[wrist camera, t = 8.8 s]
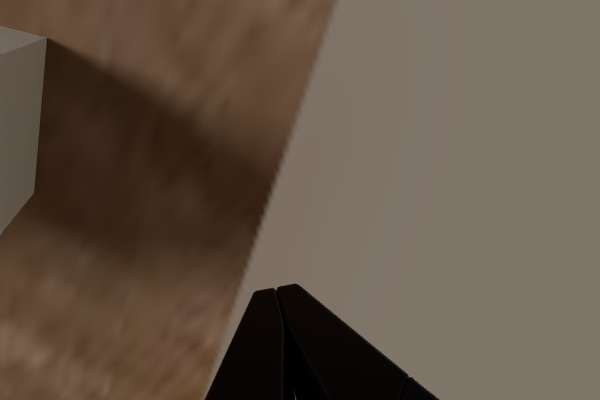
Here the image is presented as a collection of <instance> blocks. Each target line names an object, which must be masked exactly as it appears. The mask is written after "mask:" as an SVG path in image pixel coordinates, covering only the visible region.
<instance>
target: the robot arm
mask: <svg viewBox="0 0 600 400" xmlns="http://www.w3.org/2000/svg"><path fill="white" fill-rule="evenodd" d="M294 393H295V394H294ZM295 397H296V400H439V399H438V398H436V397H435V396H434V395H433V394H431V393H430V392H429V391H428V390H426V389H425V388H424V387H423V386H421V385H420V384H419V383H418V382H417V381H415V380H414V379H413V378H411V377H409V376H408V374H407V373H405V372H404V371H403V370H402V369H400V368H399V367H398V366H397V365H396V364H395V363H393V362H392V361H391V360H390V359H388V358H387V357H386V356H385V355H384V354H382V353H381V352H380V351H379V350H377V349H376V348H375V347H374V346H372V345H371V344H370V343H369V342H368V341H366V340H365V339H364V338H363V337H362V336H360V335H359V334H358V333H357V332H355V331H354V330H353V329H352V328H351V327H349V326H348V325H347V324H346V323H345V322H343V321H342V320H341V319H340V318H338V317H337V316H336V315H335V314H333V313H332V312H331V311H330V310H329V309H328V308H326V307H325V306H324V305H323V304H321V303H320V302H319V301H318V300H316V299H315V298H314V297H313V296H312V295H310V294H309V293H308V292H307V291H306V290H304V289H303V288H302V287H301V286H299V285H298V284H291V285H286V286H280V287H278V288H277V290H275V289H274V288H270V289H264V290H259V291H256V292H254V293H253V295H252V297H251V300H250V302H249V304H248V306H247V308H246V311H245V313H244V315H243V317H242V319H241V321H240V324H239V326H238V328H237V330H236V332H235V335H234V337H233V339H232V341H231V343H230V345H229V348H228V350H227V352H226V354H225V357H224V358H223V361H222V363H221V365H220V367H219V369H218V372H217V374H216V376H215V378H214V380H213V382H212V385H211V387H210V389H209V391H208V393H207V396H206V398H205V400H295Z"/></svg>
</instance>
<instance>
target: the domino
mask: <svg viewBox="0 0 600 400" xmlns="http://www.w3.org/2000/svg"><path fill="white" fill-rule="evenodd" d="M46 43H47V38H46V37H43V36H39V35H35V34H31V33H27V32H23V31H19V30H15V29H11V28H7V27H3V26H0V235H1V233H2V232H3V231H4V230H5V228H6V227H7V226H8V225H9V223H10V222H11V221H12V220H13V218H14V217H15V216H16V215H17V213H18V212H19V211H20V210H21V209H22V207H23V206H24V205H25V204H26V202H27V201H28V200H29V199H30V197H31V196H32V195H33V194H34V188H35V176H36V164H37V152H38V140H39V128H40V116H41V104H42V92H43V80H44V68H45V55H46Z"/></svg>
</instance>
